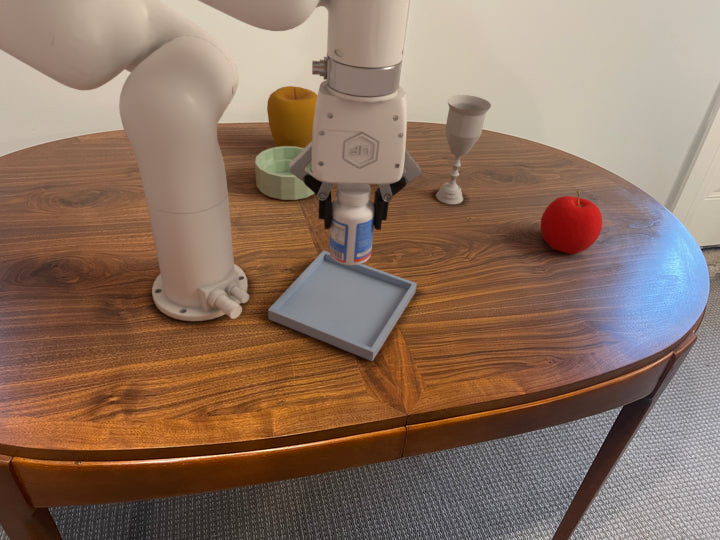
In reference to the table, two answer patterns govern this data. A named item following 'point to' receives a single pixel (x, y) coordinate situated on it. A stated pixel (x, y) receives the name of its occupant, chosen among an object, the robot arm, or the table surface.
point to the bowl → (280, 174)
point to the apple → (291, 116)
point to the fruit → (571, 224)
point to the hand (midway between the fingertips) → (351, 222)
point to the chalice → (461, 137)
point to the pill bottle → (352, 224)
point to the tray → (344, 305)
